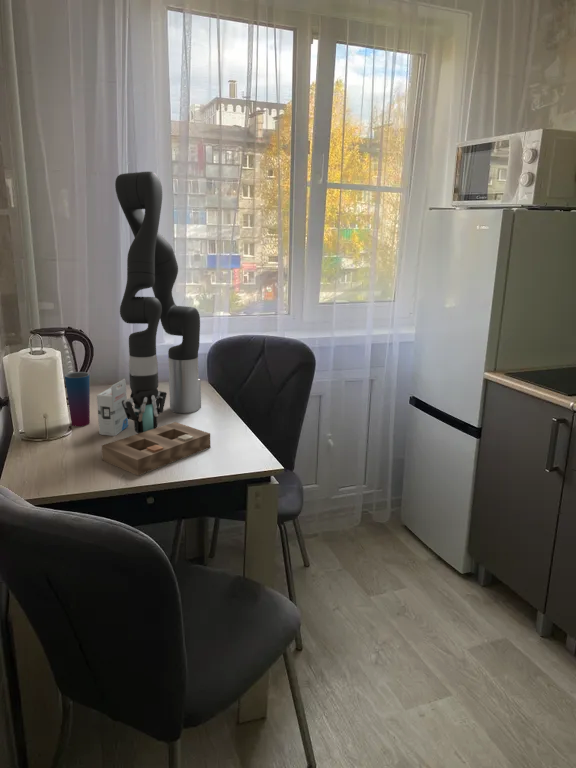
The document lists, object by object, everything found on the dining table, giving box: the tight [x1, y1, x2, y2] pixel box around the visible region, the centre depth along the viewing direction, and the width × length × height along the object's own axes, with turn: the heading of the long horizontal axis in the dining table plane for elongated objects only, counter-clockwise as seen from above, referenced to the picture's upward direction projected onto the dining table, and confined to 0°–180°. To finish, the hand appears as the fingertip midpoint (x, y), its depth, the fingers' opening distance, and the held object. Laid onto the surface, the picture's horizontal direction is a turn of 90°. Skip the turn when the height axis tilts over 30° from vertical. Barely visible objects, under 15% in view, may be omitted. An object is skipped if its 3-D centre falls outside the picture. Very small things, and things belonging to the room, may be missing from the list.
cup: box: [64, 371, 91, 428], centre depth 169 cm, size 7×7×15 cm
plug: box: [138, 404, 154, 432], centre depth 159 cm, size 4×4×10 cm
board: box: [101, 421, 211, 476], centre depth 149 cm, size 24×14×4 cm, turn 142°
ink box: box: [96, 378, 129, 437], centre depth 164 cm, size 9×5×15 cm, turn 168°
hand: (146, 430), depth 160 cm, fingers closed on plug, 4 cm apart
